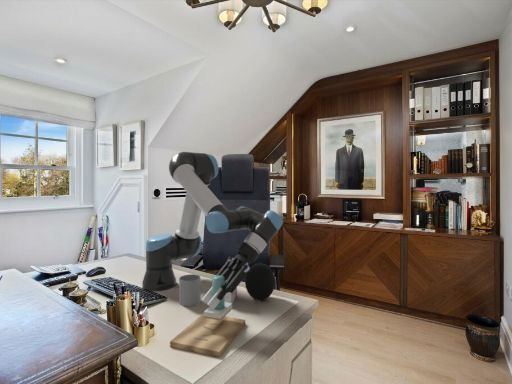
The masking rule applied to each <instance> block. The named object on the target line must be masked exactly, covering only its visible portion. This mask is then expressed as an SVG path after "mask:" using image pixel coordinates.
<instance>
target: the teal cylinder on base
mask: <svg viewBox="0 0 512 384" xmlns="http://www.w3.org/2000/svg"><path fill="white" fill-rule="evenodd" d="M211 281H212V283H211V285H212V286H211V287H212V297H213V296H214V295H215V294H216V292H217V291H218V290H219V288H221V286H223V285H224V276H216V275H213V276H212V277H211ZM232 310H233V303H228V302H225V296H224V297H223V299H222V300H221V301H220V302H219V303H218V305H217V306H216V307H215V309H214V310H213V309H212V308H211V307H210V306H208V308H206V309H205V310H204V311H203V313H204V318H209V319H215V320H222V319H223V318H224V317H227V315H228V314H230V312H231V311H232Z"/></svg>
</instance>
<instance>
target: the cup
mask: <svg viewBox="0 0 512 384" xmlns="http://www.w3.org/2000/svg"><path fill="white" fill-rule="evenodd" d="M178 282H179V283H178V284H179V286H178V287H179V288H178V289H179V290H178V293H179V295H178V296H179V297H178V299H179V301H178V302H179V305H180V306H183V307H193V306H197V305H200V303H201V300H202V299H201V276H200V275H199V274H191V273H190V274H184V275H182V276H180V277H179V278H178Z"/></svg>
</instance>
